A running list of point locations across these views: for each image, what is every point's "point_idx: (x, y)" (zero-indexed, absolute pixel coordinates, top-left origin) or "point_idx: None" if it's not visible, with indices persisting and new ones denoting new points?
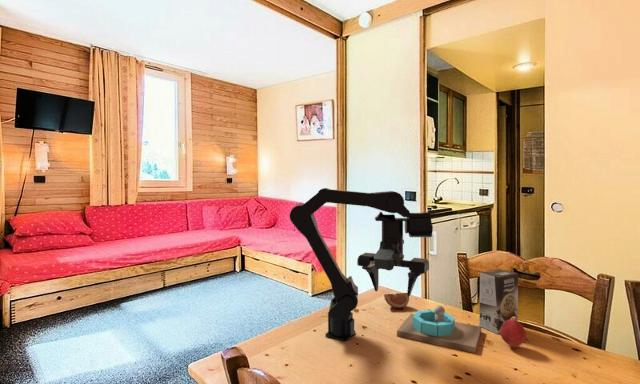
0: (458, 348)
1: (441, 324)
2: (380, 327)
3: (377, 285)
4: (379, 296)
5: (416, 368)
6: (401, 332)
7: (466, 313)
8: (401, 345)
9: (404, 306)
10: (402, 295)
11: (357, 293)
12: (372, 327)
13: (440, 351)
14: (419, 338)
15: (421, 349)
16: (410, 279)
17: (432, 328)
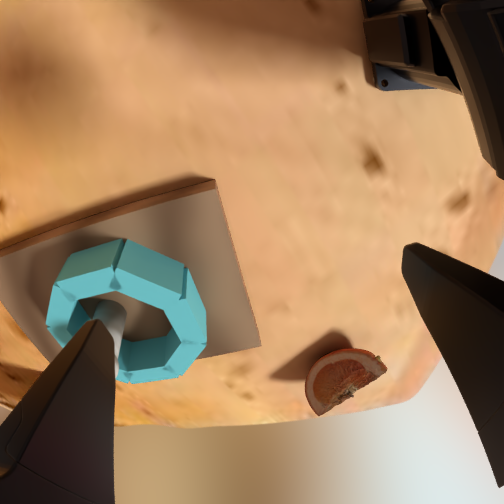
0: (13, 245)
1: (55, 299)
2: (315, 201)
3: (426, 297)
4: (403, 371)
5: (19, 26)
6: (194, 192)
7: (162, 419)
8: (147, 117)
9: (310, 369)
10: (330, 399)
11: (502, 22)
12: (343, 179)
13: (31, 191)
14: (119, 210)
15: (74, 150)
16: (1, 457)
17: (75, 266)
